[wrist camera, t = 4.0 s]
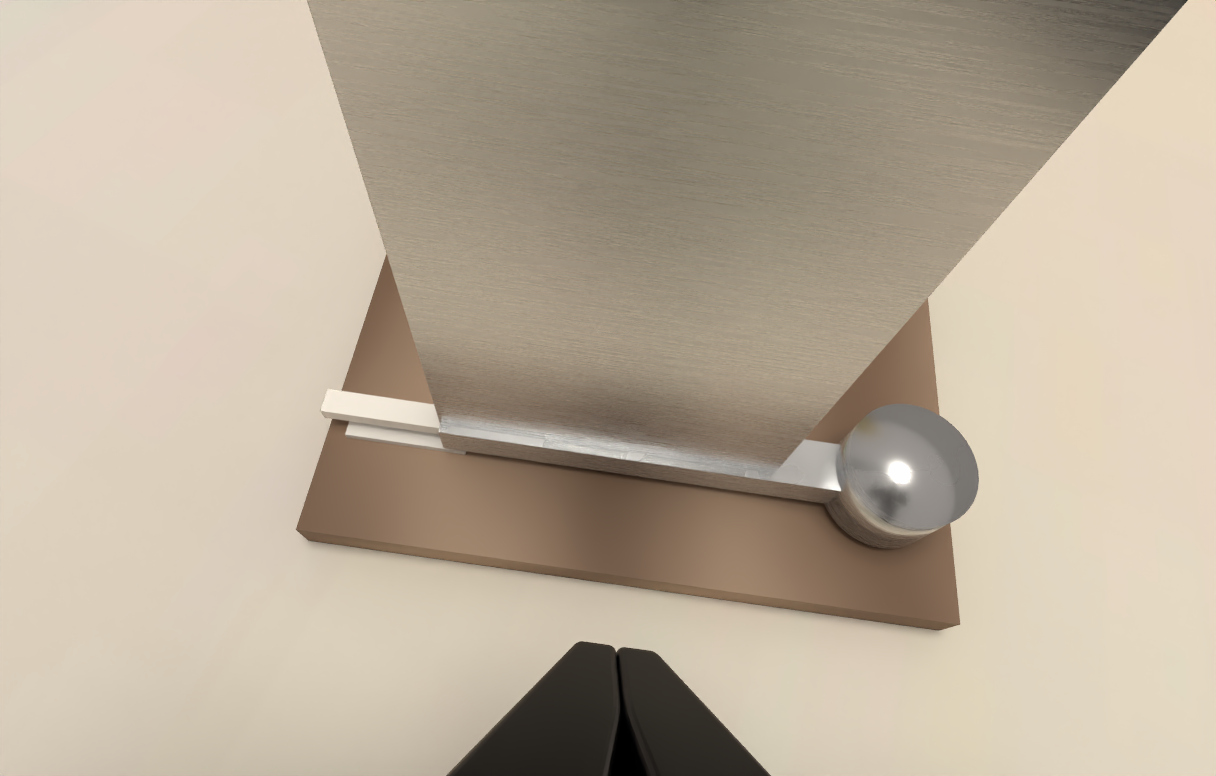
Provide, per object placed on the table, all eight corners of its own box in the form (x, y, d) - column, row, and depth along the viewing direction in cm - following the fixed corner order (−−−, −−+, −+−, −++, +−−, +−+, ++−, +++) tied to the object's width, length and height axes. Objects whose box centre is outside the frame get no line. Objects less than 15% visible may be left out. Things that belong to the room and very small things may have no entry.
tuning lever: (930, 444, 19) (1930, -318, 5) (940, 557, 17) (2326, -83, 4) (347, 358, 18) (-182, -697, 5) (311, 465, 17) (-552, -580, 4)
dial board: (902, 205, 24) (919, 181, 23) (939, 630, 18) (964, 622, 17) (437, 133, 24) (433, 105, 23) (308, 540, 18) (293, 527, 17)
